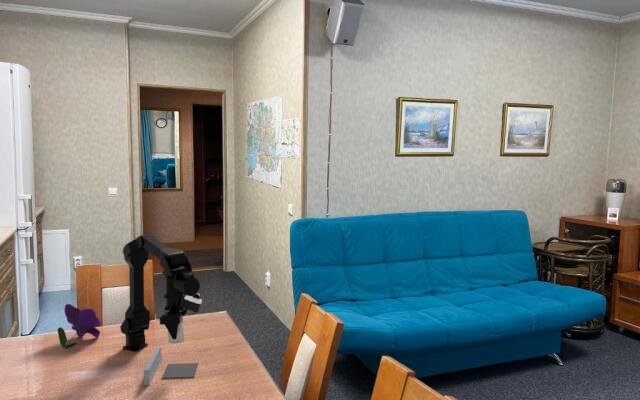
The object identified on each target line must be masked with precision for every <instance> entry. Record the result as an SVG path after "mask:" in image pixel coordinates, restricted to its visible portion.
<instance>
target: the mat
mask: <svg viewBox="0 0 640 400" xmlns="http://www.w3.org/2000/svg"><path fill="white" fill-rule="evenodd" d="M198 366H199V363H198V362H188V363H185V362H184V363H168V364H167V365H166V368H165V370H164V371H163V373H162V377H161V380H166V379H167V380H168V379H169V380H172V379H193V378H195V375H196V371H197V368H198Z"/></svg>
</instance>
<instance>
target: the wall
mask: <svg viewBox="0 0 640 400" xmlns="http://www.w3.org/2000/svg"><path fill="white" fill-rule="evenodd" d="M161 362H162V346H156V348H155V349H154V351H153V353H152V354H151V356H150V358H149V360H148V362H147V363H146V365H145V367H144V369H143V385H144V386H150V384H151V383H152V380H153V379H154V376H155V375H156V372H157V370H158V369H159V367H160V364H161Z"/></svg>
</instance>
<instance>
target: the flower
mask: <svg viewBox="0 0 640 400" xmlns="http://www.w3.org/2000/svg"><path fill="white" fill-rule="evenodd" d="M64 314H65V317H66V321H67V323H69V324H70V325H71V330H74V331H75V332H76V334H74V336H73V337H71V339H70V341H69V342H67V341H68V340H67V335H66V332H65V330H64V328H63V327H62V326H61V327H60V326H59V327H58V328H57V335H58V339H59V343H60V346H61V348H64V349H66V350H68V349H70V348H72V347H74V346H76V345H77V344H78V343H77V342H72V340H73V339H74V338H75V337H76V335H77V337H78V338H79V337H80V338H81V337H84V336H85V335H86V334H89V335H91V336H93V337H94V338H95V339H97V340H98V339H99V336H100V334H101V330H99V329H98V328H96V327H99V326H100V323H101V322H100V321H99V318H98V317H97V314H96V311H94V309H92V308H83V309H79V308H78V307H75V306H74V305H72V304H70V303H69V304H68V303H66V304H65V306H64ZM71 342H72V343H71Z"/></svg>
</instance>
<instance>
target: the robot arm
mask: <svg viewBox="0 0 640 400" xmlns="http://www.w3.org/2000/svg"><path fill="white" fill-rule="evenodd" d="M122 253H123V257H124V262H125V263H126V264H127V266H128V267H129V272H128V274H129V306H128V308H127V309H126V310H125V313H124V320H123V321H122V323H121V325H120V327H119V329H120V332H121V333H122V335H123V334H124V335H125V345H123V346H122V349H124V350H128V351H132V352H137V351H140V350H142V349H143V348H145V347H148V345H149V343H147V342H146V335H145V331H146V330H149V329H150V322H151V315H150V314H151V312H150V310H149V309H147V307H146V305H145V272H144V271H145V265H146V264H147V262H148V261H149V257H150V254H151V255H152V256H153V257H155V258H156V259H158V260H159V265H160V267H161V268H162V269H163V271H162V272H161V273H162V275H164V277H165V279H164V280H165V293H164V294H163V295H164V299H165V307H164V312H163V313H162V314H161V315H160V317H159V325H162V326H163V325H164V326H165V328H166V329H167V332H168V331H169V333H170V335H171V337H172V339H176V338H177V332H178V325H179V324H180V323H181V322H182V321H183V320H184V318H183V317H184V316H185V315H186V314H187V313H188V311H191V312H193V313H195V314H198V313H199V311H200V309H201V306H202V304H203V298H201V294H200V293H199V291H200V288H201V284H200V281H199V280H198V278H196V277H195V275H194V273H193V268H192V267H193V266H192V264H191V263H190V261H189V259H188V255H187V254H186V253H185V251H184V250H181V249H179V248H173V247H169V246H167V245H166V244H164V243H163V242H162V241H161V240H159V239H157V238H156V237H155V236H154V235H153V234H151V233H149V234H140V235H138V236H136V238H135V239H133V240H131V241H129V242H128V243H126V244H125V245H124V246H123V248H122Z"/></svg>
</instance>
